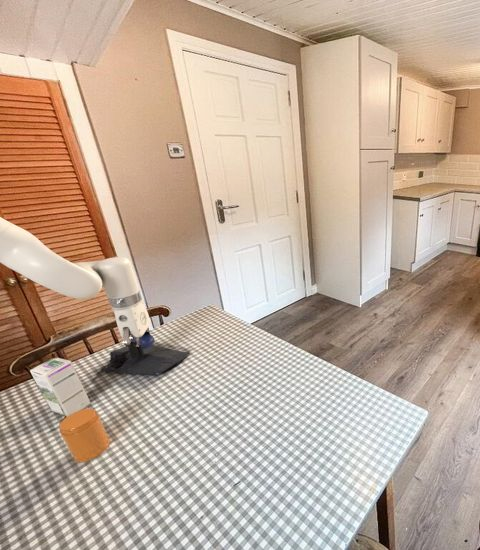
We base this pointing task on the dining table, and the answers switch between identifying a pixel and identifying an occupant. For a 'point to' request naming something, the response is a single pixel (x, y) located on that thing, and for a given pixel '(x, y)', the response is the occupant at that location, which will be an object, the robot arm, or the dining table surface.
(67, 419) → the jar
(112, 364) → the dark slate chunk
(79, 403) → the syrup box
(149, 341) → the lid
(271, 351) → the dining table surface
